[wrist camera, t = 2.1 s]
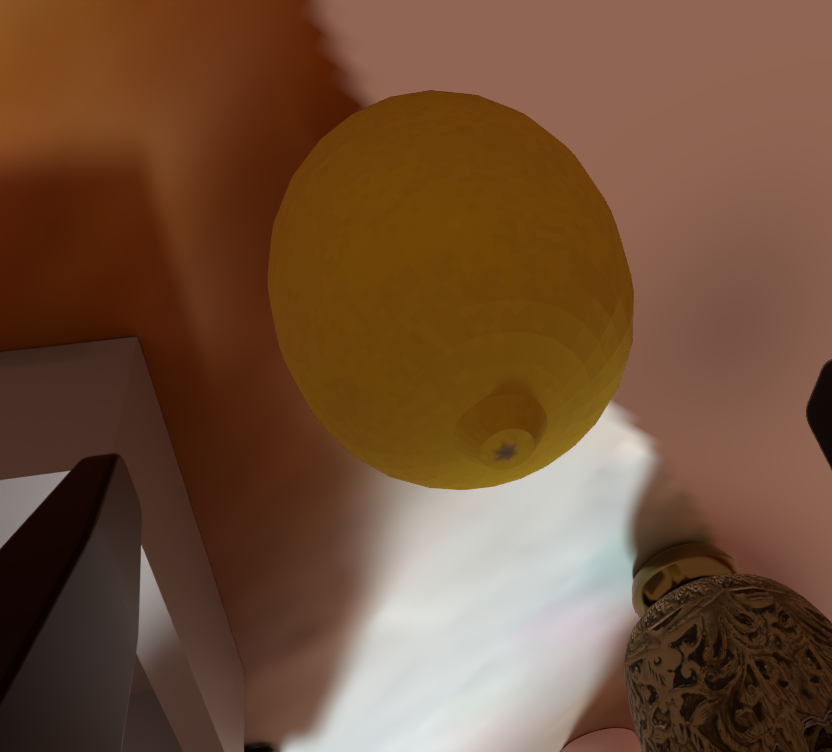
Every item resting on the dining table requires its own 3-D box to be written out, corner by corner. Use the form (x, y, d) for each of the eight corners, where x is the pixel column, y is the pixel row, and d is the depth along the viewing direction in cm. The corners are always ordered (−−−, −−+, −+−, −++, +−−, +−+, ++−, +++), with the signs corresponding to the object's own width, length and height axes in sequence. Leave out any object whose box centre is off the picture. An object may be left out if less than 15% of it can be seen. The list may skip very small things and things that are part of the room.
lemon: (369, -34, 12) (482, 137, 6) (588, 143, 15) (819, 385, 9) (213, 219, 15) (184, 526, 9) (427, 334, 17) (523, 632, 11)
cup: (807, 478, 23) (1004, 723, 17) (749, 611, 28) (889, 842, 22) (583, 514, 23) (707, 785, 16) (561, 646, 27) (651, 895, 21)
